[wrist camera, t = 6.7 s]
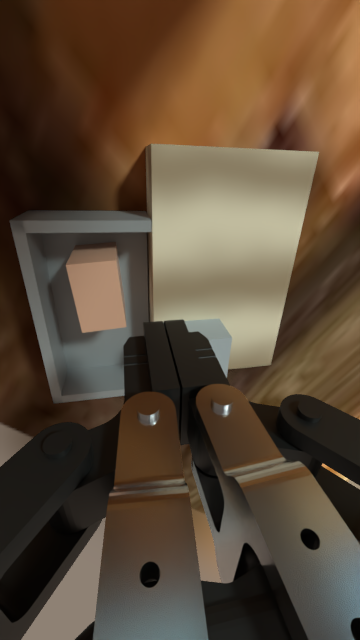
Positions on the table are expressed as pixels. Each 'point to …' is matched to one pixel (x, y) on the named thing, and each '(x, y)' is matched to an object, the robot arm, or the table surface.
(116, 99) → the table surface
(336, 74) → the table surface
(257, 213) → the board
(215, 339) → the blue gray block
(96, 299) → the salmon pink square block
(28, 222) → the tray
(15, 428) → the table surface
